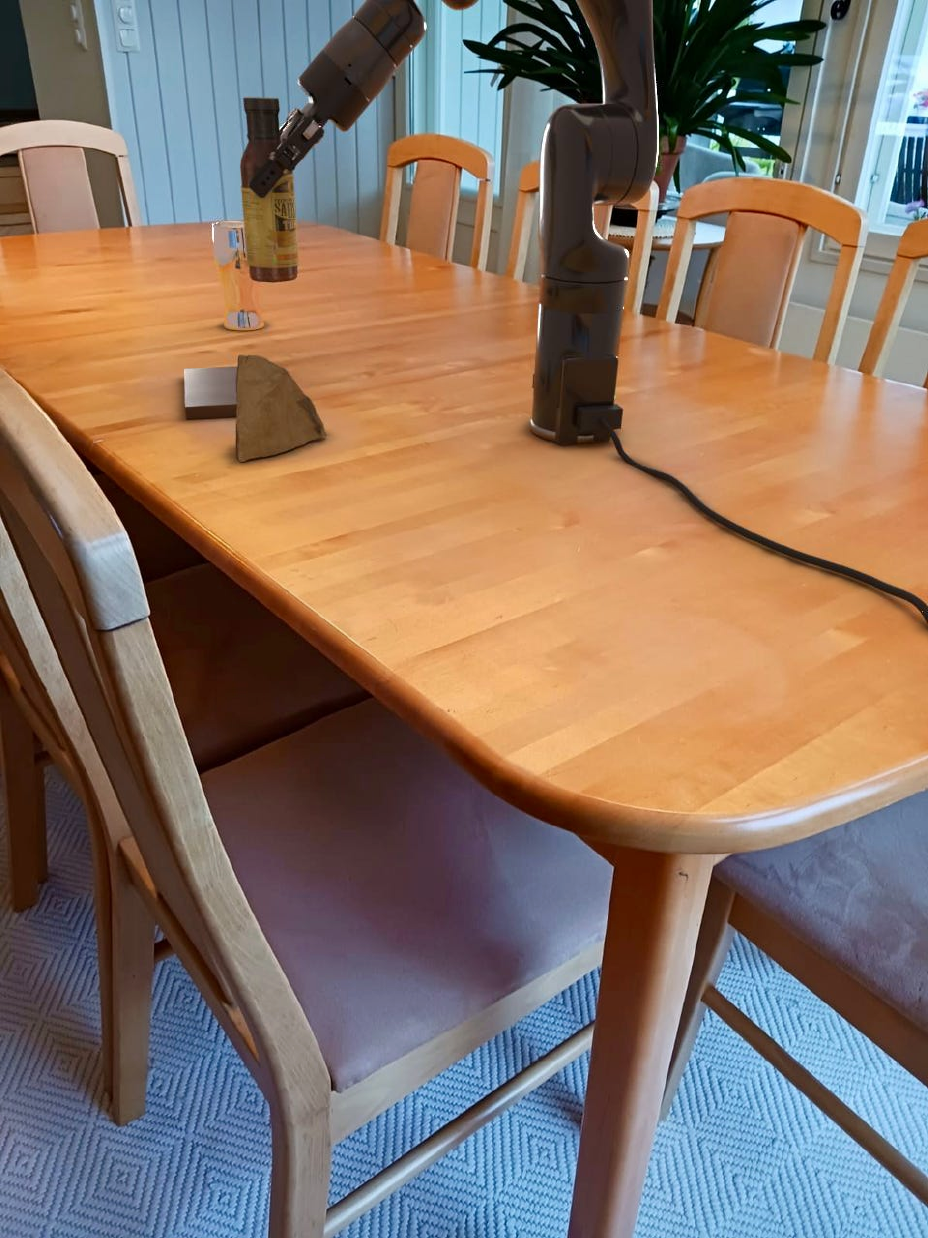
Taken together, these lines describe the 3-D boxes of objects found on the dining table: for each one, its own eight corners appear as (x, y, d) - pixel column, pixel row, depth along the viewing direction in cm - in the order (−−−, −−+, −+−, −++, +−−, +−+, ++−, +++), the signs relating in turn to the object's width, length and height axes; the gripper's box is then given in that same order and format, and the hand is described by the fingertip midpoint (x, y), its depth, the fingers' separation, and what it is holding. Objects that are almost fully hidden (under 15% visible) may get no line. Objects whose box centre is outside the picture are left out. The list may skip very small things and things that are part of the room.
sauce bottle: (289, 285, 114) (274, 98, 103) (240, 282, 115) (221, 96, 104) (307, 275, 119) (296, 96, 109) (261, 272, 120) (245, 95, 110)
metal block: (290, 413, 112) (289, 401, 111) (186, 419, 109) (184, 407, 108) (279, 375, 125) (278, 364, 124) (185, 380, 122) (184, 368, 121)
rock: (325, 404, 107) (235, 395, 105) (333, 357, 100) (237, 346, 97) (324, 487, 103) (231, 479, 101) (333, 444, 96) (232, 435, 93)
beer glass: (212, 327, 146) (200, 224, 139) (241, 318, 152) (231, 218, 144) (247, 333, 143) (237, 228, 136) (275, 324, 149) (267, 222, 141)
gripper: (316, 48, 112) (225, 159, 115) (331, 46, 100) (229, 170, 103) (362, 99, 116) (272, 205, 119) (381, 104, 104) (282, 221, 107)
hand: (253, 188), depth 111 cm, fingers closed on sauce bottle, 6 cm apart
